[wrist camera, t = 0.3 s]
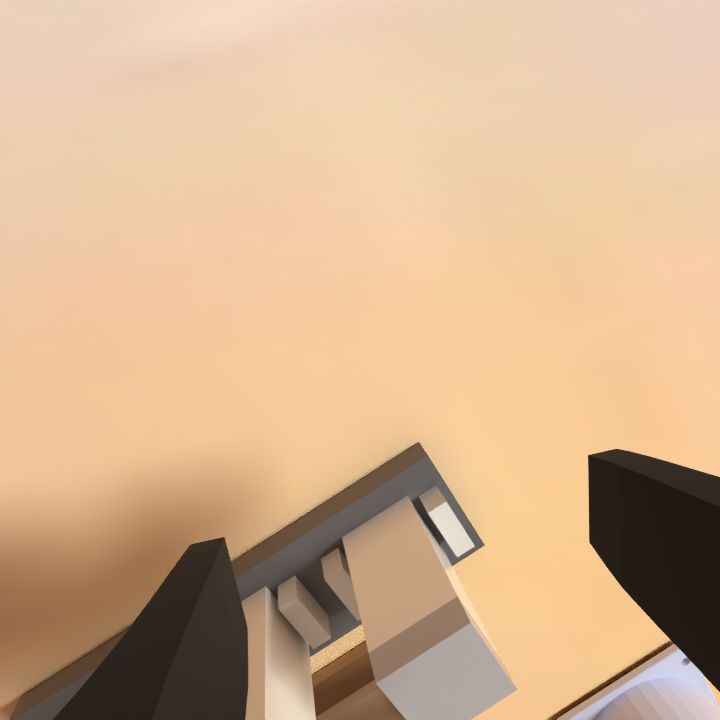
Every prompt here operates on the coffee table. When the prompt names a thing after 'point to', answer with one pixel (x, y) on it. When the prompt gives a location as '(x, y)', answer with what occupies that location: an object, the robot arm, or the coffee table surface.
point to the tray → (351, 690)
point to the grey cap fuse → (421, 621)
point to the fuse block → (308, 566)
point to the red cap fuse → (276, 663)
